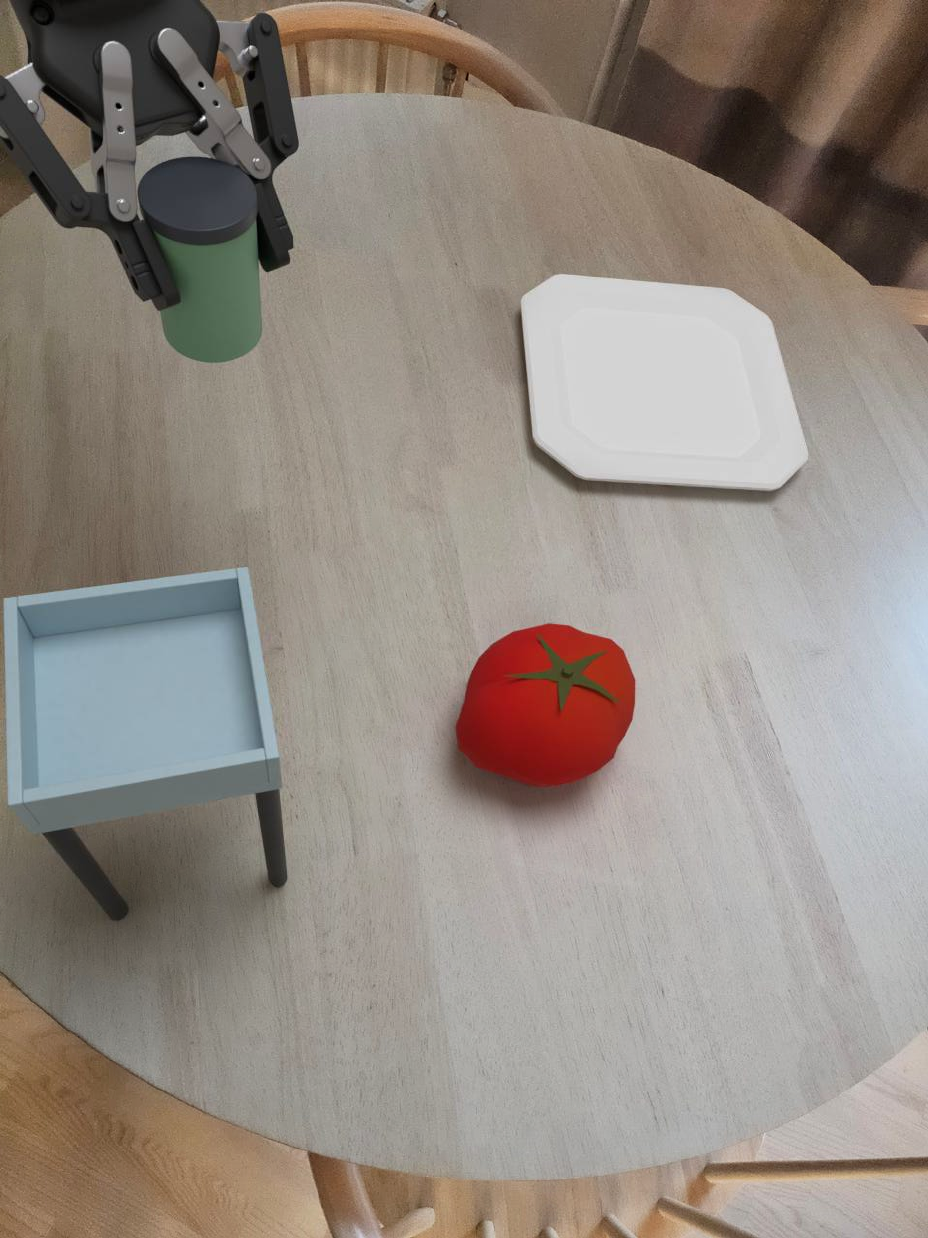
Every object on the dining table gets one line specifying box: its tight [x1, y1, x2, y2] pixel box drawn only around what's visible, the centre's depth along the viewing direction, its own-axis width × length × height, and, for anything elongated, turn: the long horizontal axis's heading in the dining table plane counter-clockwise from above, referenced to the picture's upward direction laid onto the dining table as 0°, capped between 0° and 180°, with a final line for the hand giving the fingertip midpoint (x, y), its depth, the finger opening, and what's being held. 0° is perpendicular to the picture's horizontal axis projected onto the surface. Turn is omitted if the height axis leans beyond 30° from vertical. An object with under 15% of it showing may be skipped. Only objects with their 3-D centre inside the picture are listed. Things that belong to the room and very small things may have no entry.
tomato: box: [455, 622, 636, 788], centre depth 64 cm, size 11×13×10 cm
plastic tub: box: [136, 155, 263, 364], centre depth 46 cm, size 5×5×8 cm
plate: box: [519, 273, 810, 492], centre depth 86 cm, size 25×25×2 cm
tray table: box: [2, 566, 289, 922], centre depth 52 cm, size 11×10×22 cm
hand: (225, 285), depth 45 cm, fingers closed on plastic tub, 5 cm apart
